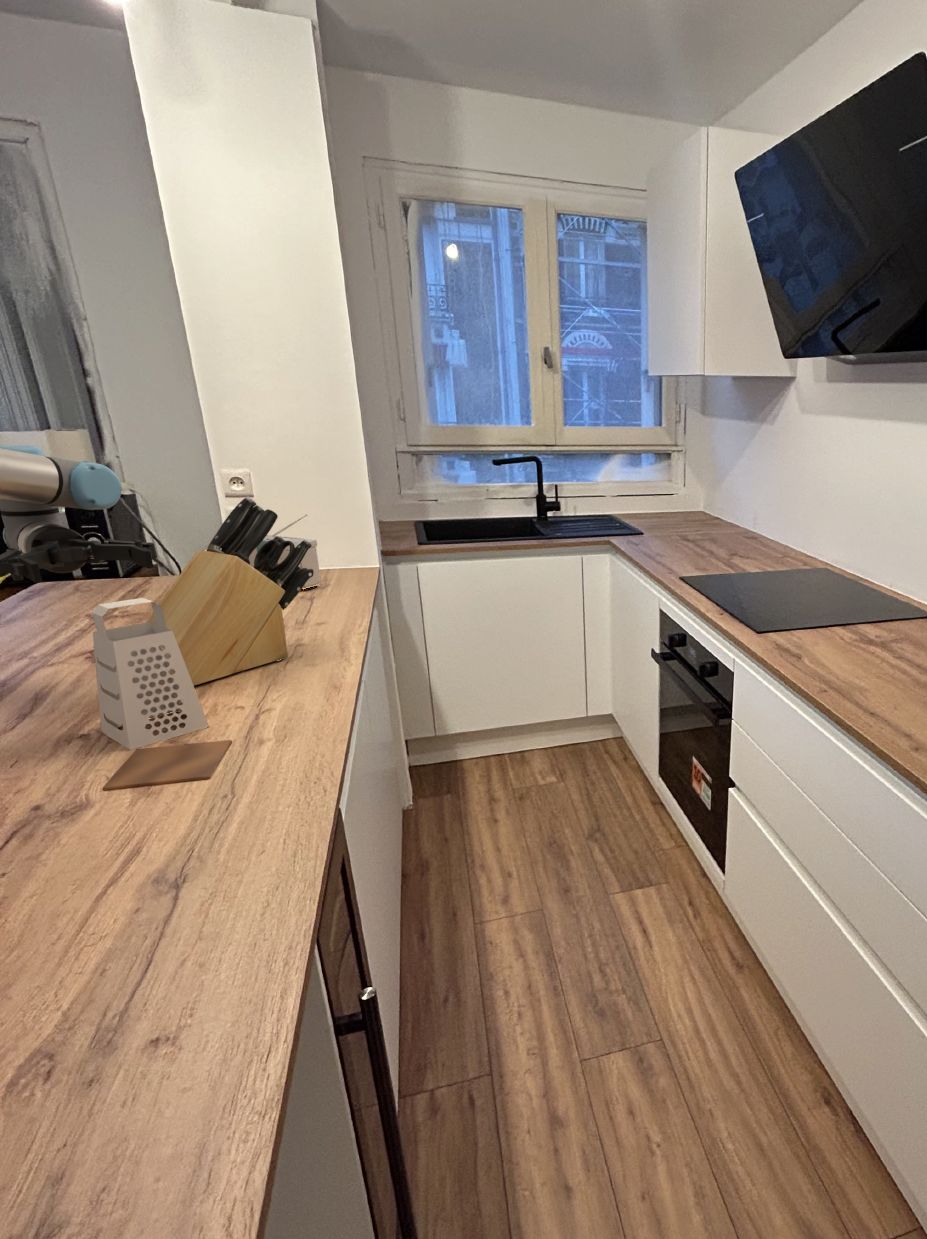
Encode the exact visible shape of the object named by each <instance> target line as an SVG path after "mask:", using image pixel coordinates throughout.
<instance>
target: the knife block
mask: <svg viewBox="0 0 927 1239" xmlns="http://www.w3.org/2000/svg"><path fill="white" fill-rule="evenodd" d="M278 518H279V516H278V514H277V513H276V512H275V511H273V510H271V509H269V508H268V509H264V508H263V507H261V506H260V505H258V504H257V503H256V501H255V500H253V499H252V498H251V497H250V496H246V497H244V498H243V499H242V500H241V501H239V503H237V505H236V506H235V507H234V508H233V510H232V511H231V512H230V513H229V514H228V516H227V517H226V518H225V519H224V521H223V523H222V524H221V526H220V527H219V528H218V530H217V531H216V533H215V535H214V536H213V537H212V539H211V541H210V542H209V544H208V546H207V548H206V550H202V549H198V550H197V551H195V553H194V555H193V556H192V557H191V558H190V560H189V561H188V563H187V564H186V565H185V567H184V568H183V570H182V571H181V572H180V574H179V575H178V576H177V578H176V580H174V582H173V583H172V585H171V587H170V588H169V589H168V590H167V592H166V593H165V595H164V596H163V597H162V599H161V600H160V602H159V603H158V605H160V606H161V607H162V608H163V613H164V617H165V622H166V626H167V628H168V629H170V630H172V631H173V633H174V636H175V639H176V641H177V644H178V646H179V649H180V652H181V654H182V657H183V659H184V662H185V665H186V667H187V670H188V673H189V675H190V678H191V680H192V683H193V686H194V687H195V686H197V685H201V684H204V683H208V682H210V681H213V680H217V679H220V678H224V677H227V676H231V675H233V674H236V673H239V672H243V671H245V670H250V669H252V668H256V667H259V666H262V665H266V664H269V663H273V662H278V661H277V660H280V659H282V660H283V659H286V658H288V657H289V654H288V645H287V639H286V638H287V637H286V630H285V623H284V615H283V611H284V610H285V609H287V608H288V606H290V604H291V603H292V602H293V601H294V599H295V598H296V597H297V596H298V595H299V593H300V592H301V591H302V590H301V589H302V588H303V586H304V585H305V583H306V582H307V581H308V579H309V578H311V577H312V576H313V573H314V570H313V569H307V568H301V569H300V567H298V566H299V564H300V563H301V561H302V559H303V558H304V556H305V554H306V552H307V551H308V549H309V548H311V547H312V545H311V544H310V543H309V542H308V541H306V540H303V541H302V542H301V543H300V544H299V545H297V547H296V548H295V545H294V544H293V543H292V542H291V541H284V540H283V539H282V538H281V537H279V536H280V535H275V536H276V537H275V538H274V539H273V540H270V541H268V542H267V543H265V544H264V545H263V546H262V547H261V548H260V550H259V551H258V553H257V554H256V556H255V559H254V567H252V566H250V561H249V556H250V554H251V553H252V552H253V550H254V549H255V548H256V547H257V546H258V545H259V544H260V543H261V542H262V541H263V539H264V538H265V537H266V535H269V533H270V532H271V530H272V528H273V527H274V525H275V523H276V521H277V520H278ZM287 546H290V552H289V554H288V556H287V557H286V558H285V559H284V560H283V561H282V562H281V563H280V564H277V562H278V560H279V558H280V556H281V555H282V553H283V551H284V549H285V548H286V547H287ZM276 564H277V565H276ZM262 572H266V573H267V572H268V573H267V575H266V573H262ZM265 575H266V576H265ZM147 622H153V623H155V624H156V621H155V616H154V612H153V611H152V613H151V614H150V616H148V619H147V620H146V622H145V623H147ZM160 647H161V649H162V650H163V651H164V650H165V649H164V648H163V647H162V646H161V645H160ZM168 654H170V653H168ZM280 661H281V660H280ZM169 672H170V674H171V675H173V674H174V673H172V672H171V671H170V670H169Z"/></svg>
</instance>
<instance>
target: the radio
mask: <svg viewBox="0 0 927 1239" xmlns="http://www.w3.org/2000/svg"><path fill="white" fill-rule="evenodd" d="M308 516H309V515H308V514H307V513H306V514H305V515H303V516H301V517H300V518H299V519H297V520H295V521H293V522H291V523H289V524H288V525H287V526H285V527H283V528H282V529H279V531H277V532H275V533H274V534H271V535H269V534H267V535H266V537H265V538H264V539H263V541H262V542H261V543H260V544H259V545H258V546H257V547H256V548H255V549H254V550H253V552H252V553H251V554H250V556H249V561H250V566H252V567H254V559H255V556H256V554H257V553H258V551H259V550H260V548H261V547H262V546H263V545H264V544H265V543H267V542H268V541H270V540H273V539H274V538H275V537H276V536H279V537H281V538H282V539H283V540H284V541H291V542H292V543H293V544H294V545H295V548H296V547H297V545H299V544H300V543H301V542H302V541H303V540H306V541H308V542H309V543H310V544H311V545H312V547H311V548H309V549H308V551H307V552H306V554H305V556H304V558H303V559H302V561H301V563H300V564H299V566H298V567H300V569H301V568H307V569H313V570H314V573H313V576H312V577H311V578H309V579H308V581H307V582H306V583H305V585H304V586H303V588H306V587H309V586H313V585H316V584H319V583H320V584H322V579H321V578H322V577H321V572H320V565H319V558H318V550H317V547H318V542H317V539H311V538H301V537H291V536H282V535H279V534H281V533H282V532H283V531H286V530H287V529H289V528H290V527H292V526H293V525H295V524H296V523H297V522H300V521H301V520H302V519H304V518H305V517H308ZM289 552H290V546H287V547H286V548H285V549H284V551H283V553H282V555H281V556H280V558H279V560H278V562H277V564H280V563H281V562H282V561H283V560H284V559H285V558H286V557H287V556H288V554H289ZM277 564H276V565H277ZM262 573H266V572H262ZM267 573H268V572H267ZM267 573H266V575H267ZM266 575H265V576H266Z"/></svg>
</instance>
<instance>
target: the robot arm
mask: <svg viewBox="0 0 927 1239" xmlns="http://www.w3.org/2000/svg"><path fill="white" fill-rule="evenodd" d="M121 496H122V484H121V480H120V478H119V477H118V476H117V474H116V473H115V472H114V471H113V470H112V469H111V468H109V467H108V466H107V465H104V464H101V463H97V462H91V461H87V460H86V461H85V460H82V461H77V460H69V459H63V458H58V457H52V456H46V455H45V454H44V452H43V449H41V448H40V447H38V446H35V445H0V513H1V514H0V516H1V519H2V522H3V526H4V528H3V531H2V537H3V541H4V543H5V544H6V546H7V549H6V550H5V552H3V553H1V554H0V578H4V577H6V576H8V575H9V574H11V577H12V579H13V581H15V582H18V581H24V579H25V578H27V579H28V580H30V581H32V582H34V583H36V584H38V583H44V581H43V577H42V574H41V571H40V570H41V569H42V570H46V571H48V572H52V573H56V574H57V573H58V574H68V573H72V572H75V571H77V570H80V569H82V567H83V566H85V564H99V563H102V562H105V561H125V562H126V561H128V562H129V561H130V562H133V563H134V564H135V565H139V566H140V567H143V568H146V569H154V568H155V567H154V563H153V560H155V559H157V558H158V554H157V550H156V546H155V543H154V542H145V541H144V542H143V541H142V540H141V539H139V540H135V541H130V540H128V541H127V540H118V539H112V538H107V539H104V541H103V543H101V542H100V541H99V540H86V539H85V537H83V535H81V534H80V533H78V531H76V530H73V529H71V528H69V527H66V526H64V525H63V524H64V523H63V521H62V517H61V514H60V509H59V508H60V507H61V508H70V509H71V508H72V509H80V510H81V509H82V510H88V511H95V510H107V509H110V508H112V507H114V506H115V505H116V504H117V503H118V501H120V498H121ZM24 577H25V578H24Z"/></svg>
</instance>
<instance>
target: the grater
mask: <svg viewBox="0 0 927 1239" xmlns="http://www.w3.org/2000/svg"><path fill="white" fill-rule="evenodd" d="M148 603H151V607H152V613H153V612H154V616H155V621H156V624H155V623H153V622H147V621H146V622H147V623H146V622H143V623H136V624H131V625H126V626H119V627H115V628H108V629H106V625H105V622H104V615H105V614H106V613H107V612H108V610H111V609H115V608H122V607H128V606H135V605H141V604H148ZM91 613H92V617H93V621H94V625H95V629H96V631H92V638H93V640H92V641H93V652H94V663H95V675H96V686H97V697H98V708H99V710H98V711H99V720H100V730H101V733H102V734H104V735H106V736H107V737H109V738H110V739H111V740H113V741H115V742H116V743H118V744H120V745H121V746H123V747H125V748H126V749H127V750H129V751H132V750H136V749H140V748H142V746H143V747H146V746H149V745H153V744H157V743H160V742H163V741H167V740H170V739H174V738H177V737H179V736H184V735H187V734H190V733H193V732H197V731H201V730H203V729H208V728H210V725H209V722H208V720H207V717H206V715H205V712H204V710H203V706H202V704H201V702H200V699H199V696H198V694H197V691H196V689H195V685H194V686H193V683H192V680H191V678H190V675H189V673H188V670H187V667H186V665H185V662H184V659H183V657H182V654H181V652H180V649H179V646H178V644H177V641H176V639H175V636H174V633H173V631H172V630H170V629H168V628H167V626H166V622H165V617H164V613H163V608H162V607H161V606H160V605H159V603H157V602H156V601H154V600H151V599H148V598H146V597H139V598H132V599H126V600H125V599H124V600H119V601H112V602H106V603H99V604H97V605H96V606H95V608H94V609H93V611H92V612H91ZM160 645H161V646H162V647H163V648H164V649H165V650H164V651H163V650H162V649H161V647H160ZM168 653H170V654H168ZM169 670H170V671H171V672H172V673H174V674H173V675H171V674H170V672H169ZM176 711H177V712H179V713H176ZM170 712H173V713H172V715H168V714H167V713H170ZM170 714H171V713H170ZM185 714H186V715H185ZM161 715H162V716H163V717H162V718H159V717H161ZM182 715H185V716H186V718H184V719H182ZM157 716H158V717H157ZM153 717H155V718H153ZM175 717H177V719H178V720H177V721H173V718H175ZM148 718H151V719H153V720H150V719H148ZM165 720H169V723H167V724H166V723H164V721H165ZM156 722H159V723H160V725H158V726H156V725H155V723H156ZM181 723H182V724H183V723H184V725H185V726H184V727H180V724H181ZM147 725H151V728H149V729H147V728H146V726H147ZM172 726H176V729H174V730H172V728H171V727H172ZM121 727H122V730H121V729H119V728H121ZM207 727H208V728H207ZM164 728H166V729H167V732H163V731H162V730H163V729H164ZM154 731H158V732H159V733H158V734H157V735H154V733H153V732H154Z"/></svg>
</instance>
